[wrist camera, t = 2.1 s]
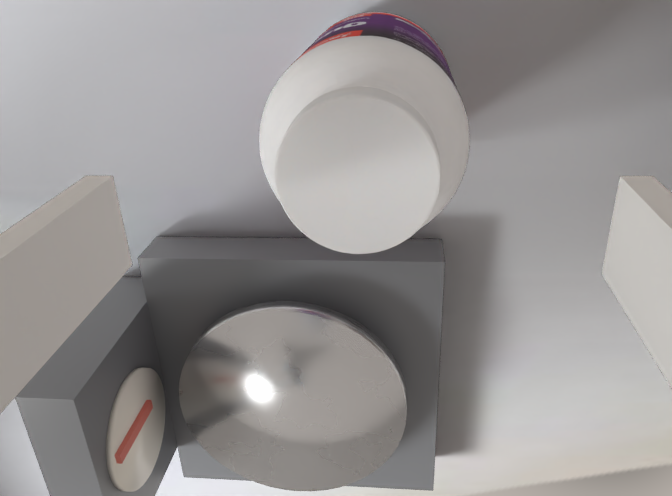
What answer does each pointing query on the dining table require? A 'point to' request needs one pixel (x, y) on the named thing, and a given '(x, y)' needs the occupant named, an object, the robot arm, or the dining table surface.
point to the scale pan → (294, 396)
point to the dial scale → (184, 330)
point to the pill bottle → (365, 134)
